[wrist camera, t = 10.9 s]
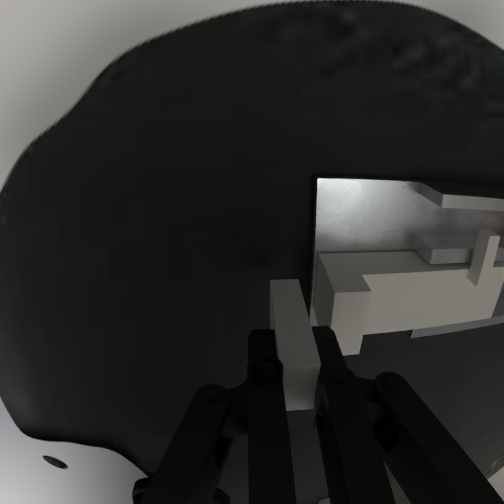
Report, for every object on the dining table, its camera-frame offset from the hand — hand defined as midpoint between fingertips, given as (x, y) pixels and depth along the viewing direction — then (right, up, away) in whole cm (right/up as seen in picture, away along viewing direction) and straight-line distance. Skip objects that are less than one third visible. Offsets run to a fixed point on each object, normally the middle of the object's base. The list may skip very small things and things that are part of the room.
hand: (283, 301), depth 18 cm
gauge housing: (+15, +3, +4) cm, 16 cm away
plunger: (+10, +2, +3) cm, 10 cm away
